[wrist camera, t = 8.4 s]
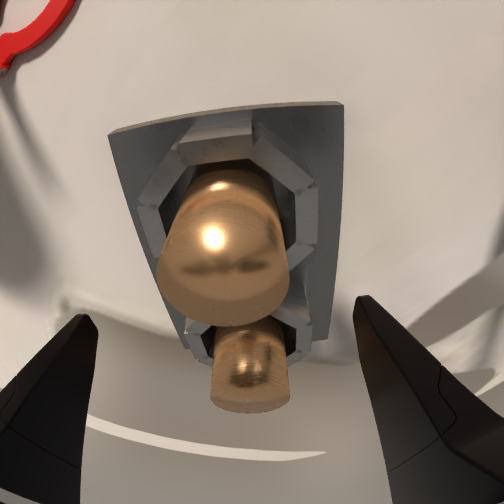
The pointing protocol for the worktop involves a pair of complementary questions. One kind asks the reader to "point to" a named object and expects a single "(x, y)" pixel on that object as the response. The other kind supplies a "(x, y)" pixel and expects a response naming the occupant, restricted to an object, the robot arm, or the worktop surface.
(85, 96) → the worktop surface
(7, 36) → the tow hook
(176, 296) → the brass peg
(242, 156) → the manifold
